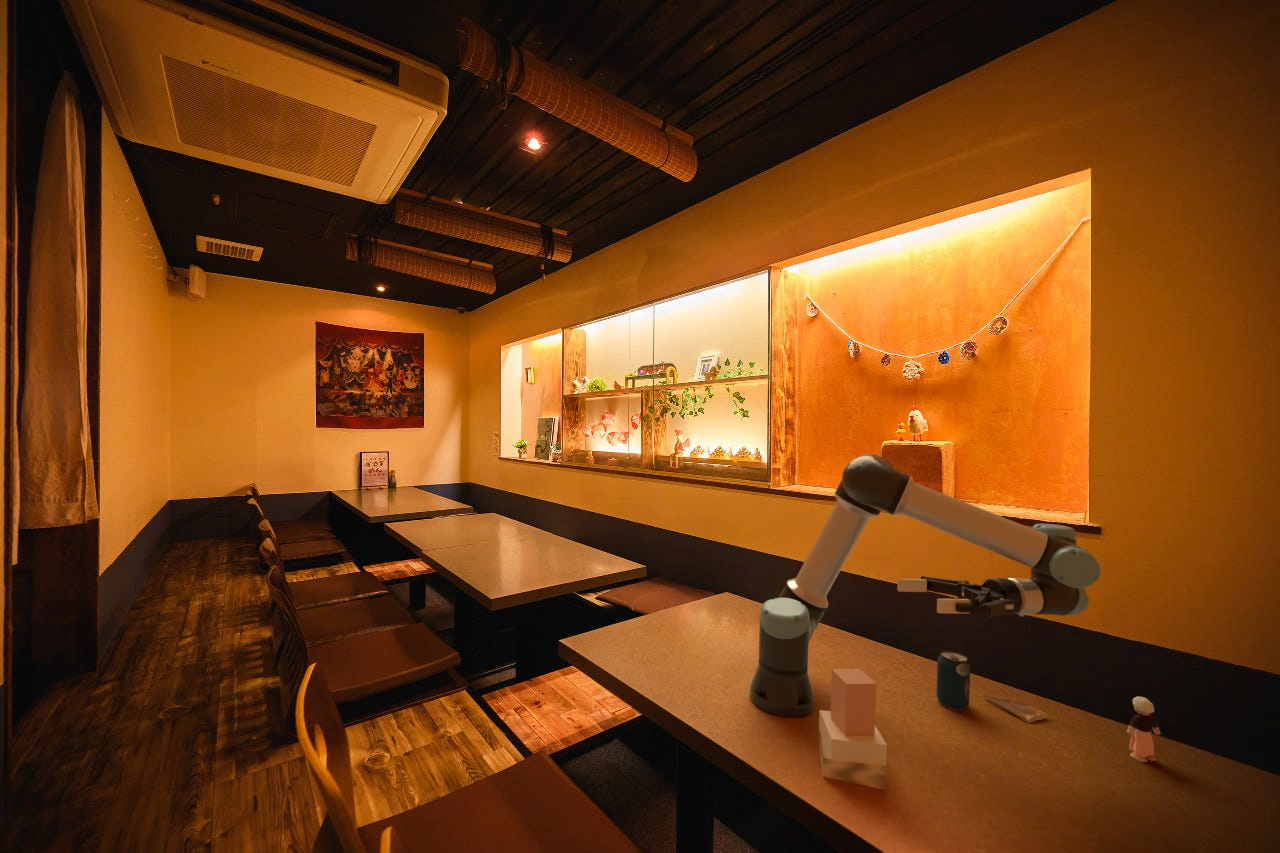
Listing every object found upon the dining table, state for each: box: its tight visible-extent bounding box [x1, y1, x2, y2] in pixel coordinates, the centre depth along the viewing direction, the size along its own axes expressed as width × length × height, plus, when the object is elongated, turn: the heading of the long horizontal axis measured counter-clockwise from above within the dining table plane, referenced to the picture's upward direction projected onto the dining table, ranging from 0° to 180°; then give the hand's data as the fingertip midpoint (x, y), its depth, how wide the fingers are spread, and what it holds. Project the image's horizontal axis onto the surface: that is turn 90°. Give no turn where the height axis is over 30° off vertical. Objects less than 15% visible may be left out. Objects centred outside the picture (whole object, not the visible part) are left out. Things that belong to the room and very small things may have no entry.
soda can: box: [936, 650, 971, 711], centre depth 126 cm, size 7×7×12 cm
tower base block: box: [818, 730, 887, 791], centre depth 101 cm, size 11×11×4 cm
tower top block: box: [818, 709, 888, 767], centre depth 101 cm, size 10×10×4 cm
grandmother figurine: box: [1126, 696, 1161, 763], centre depth 106 cm, size 8×4×13 cm, turn 110°
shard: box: [983, 695, 1048, 724], centre depth 124 cm, size 11×8×2 cm
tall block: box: [830, 668, 877, 736], centre depth 101 cm, size 6×6×10 cm
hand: (916, 594), depth 108 cm, fingers open, 13 cm apart
